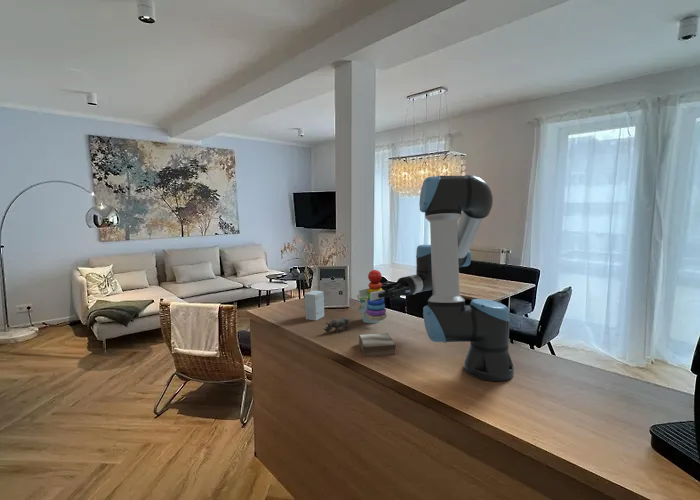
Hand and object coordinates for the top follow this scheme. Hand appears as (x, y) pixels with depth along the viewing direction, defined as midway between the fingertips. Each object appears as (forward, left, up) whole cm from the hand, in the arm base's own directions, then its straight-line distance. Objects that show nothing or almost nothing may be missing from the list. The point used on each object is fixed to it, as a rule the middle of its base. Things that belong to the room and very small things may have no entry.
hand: (365, 295), depth 132 cm
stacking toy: (+3, -5, -10) cm, 11 cm away
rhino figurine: (+24, +9, -22) cm, 34 cm away
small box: (+46, +19, -22) cm, 55 cm away
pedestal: (+2, -4, -22) cm, 23 cm away
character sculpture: (+36, -7, -22) cm, 43 cm away
